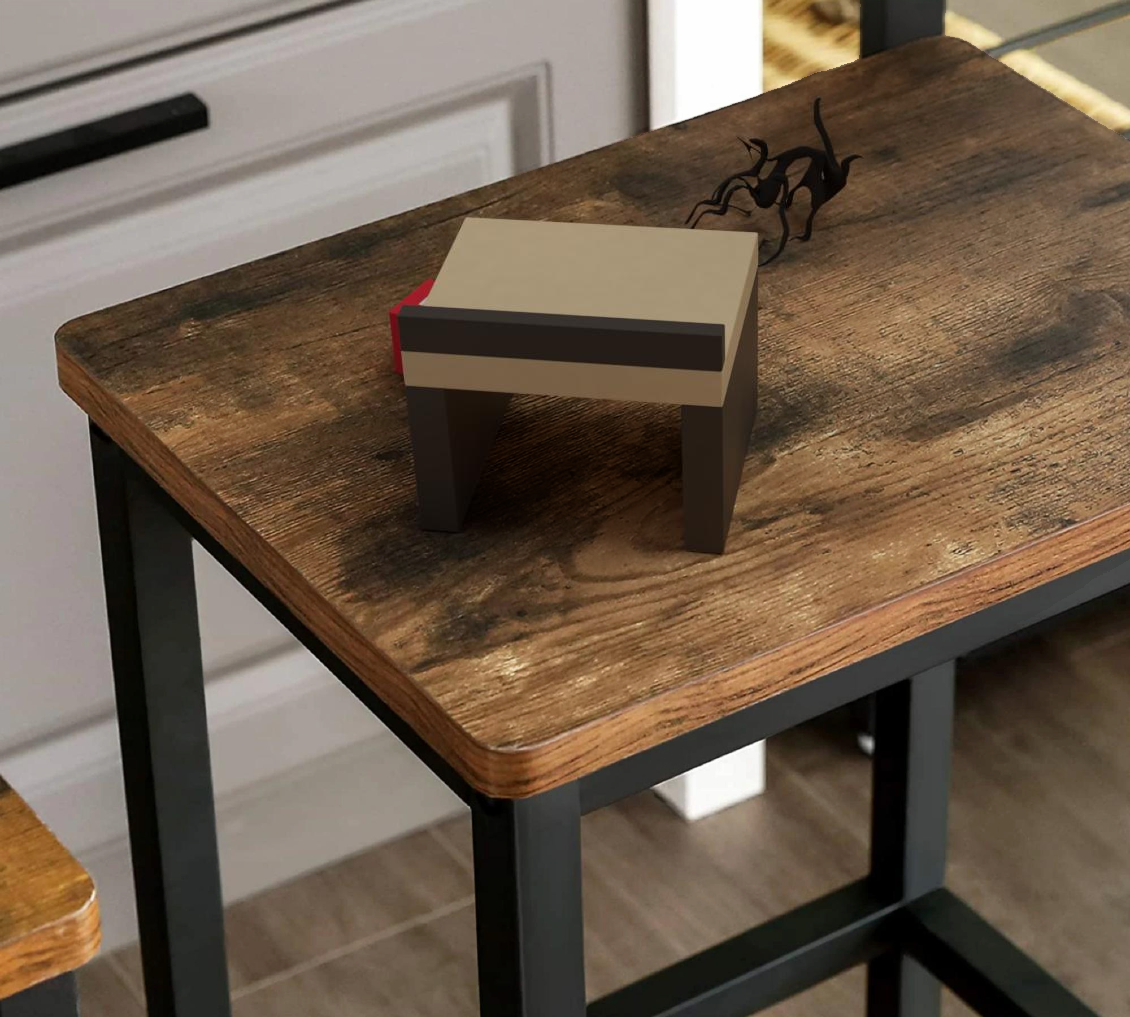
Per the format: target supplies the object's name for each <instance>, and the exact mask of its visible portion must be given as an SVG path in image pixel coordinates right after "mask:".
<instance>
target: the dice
mask: <svg viewBox="0 0 1130 1017" xmlns="http://www.w3.org/2000/svg"><path fill="white" fill-rule="evenodd" d="M435 280H436V279H435ZM435 280H434V279H430V278H428V279H427V280H425V281H424V282H423V283H422V284H420V285H419V286H418V287H417V288H416V289H415V290H413V291H412V292H411V293H409V294H408V295H407V296H406V297H405V298H403V300H401V301H400V302H399V303H398V304H397V305H395V306H394V307H393V308H391V310H389V312H388V316H389V324H390V333H391V341H392V352H393V359H394V367H395V373H396V374H399V375H403V376H404V372H403V363H402V354H401V352H402V351H401V347H400V338H399V329H398V320H397V315H398V313H399V311H400V309H401V307H402V305H418V306H424V303H425V301H426V299H427V297H428V295H429V293H430V291H431V289H432V287H433V285H434V283H435Z"/></svg>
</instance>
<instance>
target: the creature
mask: <svg viewBox="0 0 1130 1017" xmlns="http://www.w3.org/2000/svg"><path fill="white" fill-rule="evenodd" d="M821 101H822V98H821V97H816V98H815V100H814V102H813V123H814V126H815V128H816V130H817V132H818V133H819V135H820V137H821V140H822V142H823V145H824V150H823V149H819V148H815V147H811V146H807V145H800V146H796V147H793V148H790V149H788V150H785V151H783V152H781V153H779V154H777V155H775V156H773V157H771V158H770V157H769V158H768V156H769V147H768V144H767V142H766V141H765V140H763V139H761V138H756V137H753V138H749V139H748V141H749V143H751V144H752V145H754V146H756V147H758V148H759V149H760V150H758V149H757V148H755V147H754V146H752V145H751V144H749V143H748V142H746V141H745V140H744V139H741V138H740V137H738V136H736V138H737V139H738V140H739V141H740V142H741V143H742V144H743V145H744V146H745V148H746V149H747V151H748V153H749V156H750V158H751V161H752V164H753V166H752V167H751V168H750V169H748V170H745V171H741V172H738V173H735V174H733V175H731V176H729V177H728V178H726V179H725V180H723V181H722V182H721V183H720V184H719V185H718V186H717V187H716V189H715V190H714V191H713V193H712V195H711V198H708V199H704V200H700V201H698V202H697V203H696V204H695V206H694V207H693V208H692V210H691V212H690V214H689V215H688V217H687V218H686V220H685V221H684V225H685V226H686V225H688V224H689V222H690V221H691V220H692V218H693V217H694V215H695V213H696V211H697V209H698V207H699V206H701V205H707V206H712V207H714V206H721V208H719V209H713V208H708V209H706V210H703V211H702V212H701V213H700V214H699V216H698V218H696V219H695V221H694V223H693V224H692V225H691V227H690V228H689V229H695V228H696V226H697V225H698V223H699V221H700V220H701V218H702V217H703V216H704V215H706V214H713V215H717V216H720V217H722V216H723V217H724V216H725V215H726V214H727V213H728V209H729V208H734V209H736V210H739V211H740V212H742V213H744V214H746V215H747V216H749V217H751V215H752V212H754V210H755V209H757V208H760V209H764V210H766V209H769V208H771V207H772V206H773V205H777V206H778V215H779V218H780V221H781V226H782V230H783V232H782V236H781V239H780V241H779V242H775V241H771V240H768V239H766V238H764V237H763V238H762V240H761V242H760V244H759V245H758V252H760V250H761V248H762V246H763V245H765V244H766V243H772V244H773V243H774V244H779V246H778V250H777V251H776V252H775V253H774V254H773V255H772V256H770V257H769V258H768V259H767V260H766V261H765V262H762V263H760V264H758V267H757V268H758V269H759V268H761V267H764V266H767V265H768V264H770V263H772V262H773V261H775V259H777V258H778V257H779V256H780V255H781V254H782V253H783V251H784V250H785V249H786V248H785V247H786V245H787V243H788V242H791V241H792V240H795V239H798V240H800V241H806V242H807V241H809V240H810V239H811V237H812V234H813V233H812V232H813V221H814V217H815V215H816V213H817V211H819V209H820V208H821V207H822V206H823V205H825V204H826V203H828V202H830V201H831V200H832V199H833V198H834V197H835V196H836V195H837V194H838V193H839V192H840V191H842V190H843V189H844V188H845V187H846V185H847V183H848V177H849V174H850V169H851V165H850V164H851V163H852V162H853V161H854V160H856V159H857V160H858V159H864V157H863V156H862V155H859V154H851V155H849V156H847V157H845V158H843V159H842V160H841V161H840V164H839V163H838V160H837V158H836V155H835V151H834V147H833V145H832V142H831V139H830V137H829V133H828V131H827V130H826V127H825V125H824V123H823V120H822V116H821V111H820V102H821ZM751 150H754V151H756V152H757V153H758V154H759V155H760V156H759V159H758V160H757V161H756V162H754V160H753V156H752V152H751ZM805 158H809V159H810V163H809V164H808V167H807V169H806V171H805V172H804V173H803V175H802V178H801V179H800V181H799V182H798V183H797V184H796V185H795V186H794V187H793V188H792V189H790V183H789V181H790V180H789V177H788V175H787V174H786V173H787V171H788V168H789V167H790V166H791V165H793V164H794V162H795V161H797V160H801V159H805ZM775 161H776V163H775V164H774V167H773V168H772V170H771V171H770V172H769V174H768V175H767V176H766V177H764V178H763V179H762V178H760V176H759V175H760V174H761V170H762V169H763V168H764V166H765V164H766V163H767V162H769V163H772V162H775ZM744 177H745V178H746V177H750V178H755V179H757V184H756V185H755V186H754V187H753V185H751V183H750V182H748V181H747V180H746V179H745V178H744ZM736 179H737V180H739V181H743V182H744V184H745V185H744V184H736V185H735V186H733V187H732V188H730V189H728V187H729V186H730V184H731V182H732V181H734V180H736ZM802 187H803V188H804V187H805V188H807V189H808V190H809V192H810V207H811V211H810V213H809V214H808V218H807V219H806V221H805V232H804V234H803V235H794V236H793V237H791V238H790V239H789V237H790V234H791V233H790V226H789V222H788V219H787V216H786V211H785V210H786V209H789V208H790V207H792V205H793V202H794V196H795V193H796V192H797V190H799V189H801V188H802ZM727 189H728V190H727ZM741 189H745V190H748V193H749V195H750V197H751V198H752V199H753V201H754V203H755V207H754V208H753V209H752V210H746V209H744V208H740V207H737V206H735V205H733V204H729V203H730V200H731V199H732V197H733V194H734V192H736V191H739V190H741ZM726 190H727V192H726ZM781 190H782V195H781V198H780V200H779V202H778V201H777V199H778V197H779V195H780V194H781ZM725 192H726V194H725V195H724V193H725ZM716 193H717V194H716ZM715 195H716V198H715ZM723 195H724V197H723Z"/></svg>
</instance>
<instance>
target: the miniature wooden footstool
mask: <svg viewBox="0 0 1130 1017" xmlns="http://www.w3.org/2000/svg"><path fill="white" fill-rule="evenodd" d="M758 248H759V233H758V232H755V231H753V232H752V231H734V230H733V231H732V230H715V229H714V230H713V229H697V228H696V229H695V228H694V229H690V228H679V227H677V228H675V227H660V226H659V227H658V226H638V225H622V224H621V225H619V224H601V223H600V224H599V223H582V222H581V223H580V222H565V221H564V222H563V221H561V222H560V221H543V220H525V219H507V218H505V219H504V218H487V217H486V218H485V217H469V216H467V217H465V218H464V220H463V222H462V224H461V226H460V229H459V231H458V232H457V234H456V237H455V238H454V241H453V242H452V245H451V247H450V250H448V253H447V256H446V258H445V259H444V262H443V264H442V266H441V268H440V270H439V272H438V275H437V277H436V278H435V283H434V285H433V287H432V289H431V291H430V293H429V295H428V297H427V299H426V301H425V303H424V306H418V305H402V307H401V309H400V311H399V313H398V315H397V320H398V329H399V338H400V347H401V351H402V352H401V354H402V363H403V372H404V375H403V379H404V380H403V381H404V385H405V386H404V390H405V391H404V392H405V399H406V400H405V401H406V409H407V417H408V425H409V427H408V428H409V435H410V444H411V453H412V462H413V470H414V480H415V487H416V488H415V489H416V496H417V506H418V514H419V523H420V529H421V530H423V531H424V530H425V531H438V532H449V533H459V532H460V530H461V527H462V525H463V522H464V520H465V517H466V515H467V513H468V509H469V507H470V504H471V502H472V500H473V497H474V494H475V492H476V489H477V486H478V484H479V481H480V478H481V476H482V474H483V471H484V468H485V466H486V463H487V461H488V459H489V456H490V453H491V451H492V448H493V445H494V443H495V441H496V438H497V435H498V433H499V430H500V428H501V425H502V423H503V420H504V417H505V416H506V413H507V410H508V409H509V408H508V407H509V405H510V402H511V400H512V397H513V395H514V394H522V395H534V396H535V395H538V396H549V397H550V396H551V397H566V398H579V399H580V398H581V399H595V400H609V401H626V402H638V403H639V402H641V403H653V404H669V405H680V426H681V427H680V428H681V430H680V431H681V472H682V474H681V475H682V477H681V478H682V515H683V516H682V519H683V523H682V524H683V549H684V551H687V552H700V553H713V554H724V552H725V550H726V545H727V541H728V536H729V532H730V528H731V524H732V519H733V515H734V511H735V505H736V502H737V498H738V492H739V488H740V483H741V479H742V476H743V471H744V467H745V461H746V459H747V458H746V457H747V454H748V449H749V444H750V440H751V435H752V431H753V427H754V422H755V419H756V418H755V417H756V414H757V410H758V406H759V405H758V404H759V403H758V402H759V399H758V397H759V392H758V391H759V389H758V388H759V379H758V378H759V376H758V375H759V267H758V265H759V251H758ZM757 267H758V268H757Z"/></svg>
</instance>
